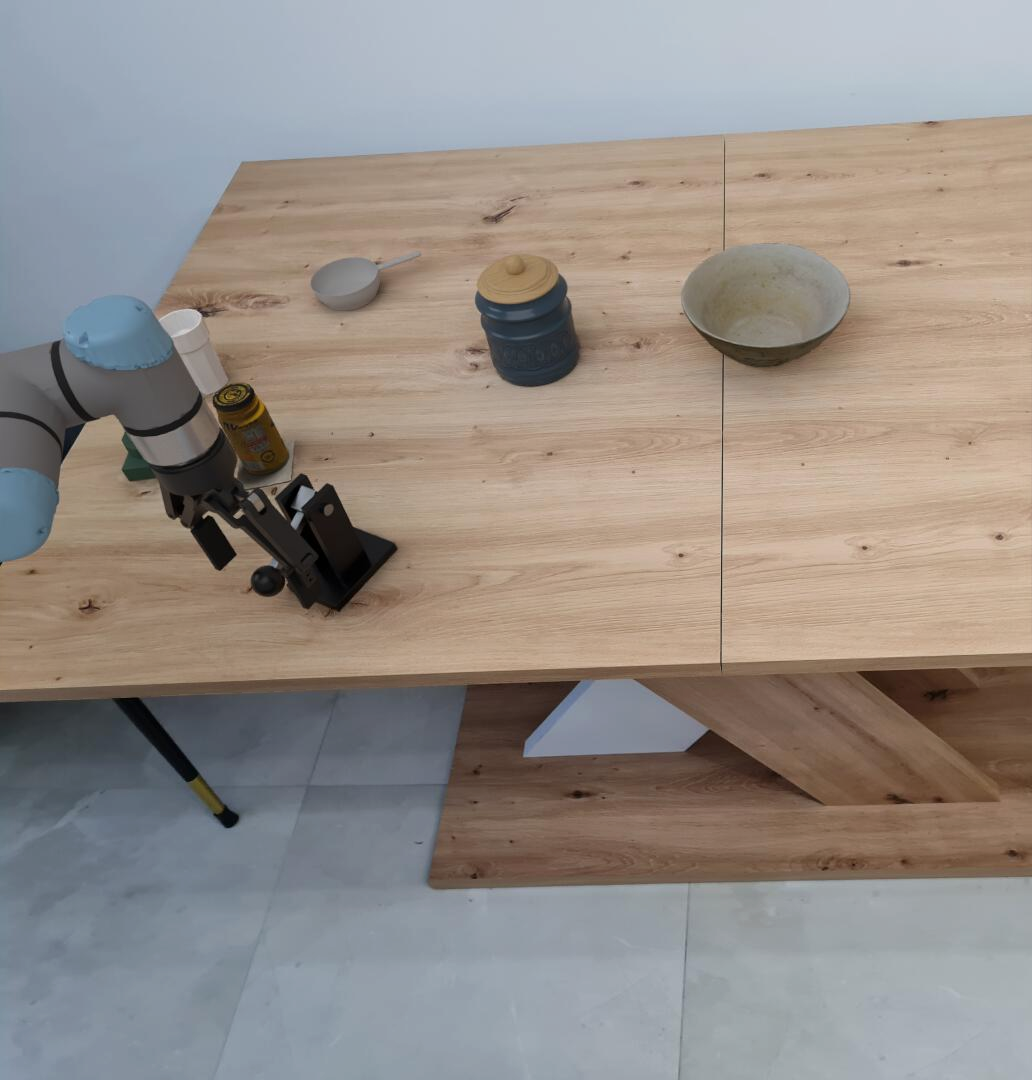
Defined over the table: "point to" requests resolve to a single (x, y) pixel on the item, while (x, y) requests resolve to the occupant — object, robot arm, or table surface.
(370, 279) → the saucepan
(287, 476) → the condiment
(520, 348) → the canister
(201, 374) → the cup
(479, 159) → the table surface
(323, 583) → the lever base
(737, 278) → the bowl
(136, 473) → the control block
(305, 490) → the ball lever handle
